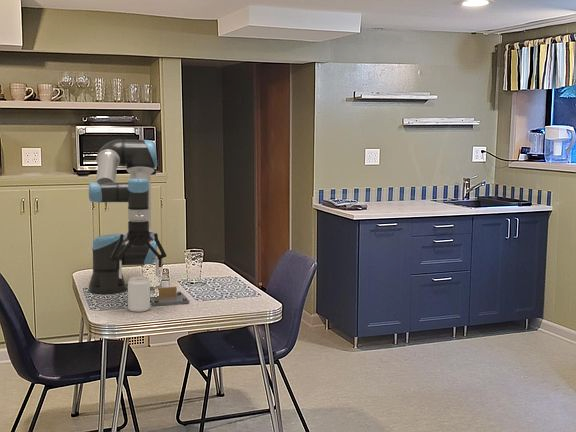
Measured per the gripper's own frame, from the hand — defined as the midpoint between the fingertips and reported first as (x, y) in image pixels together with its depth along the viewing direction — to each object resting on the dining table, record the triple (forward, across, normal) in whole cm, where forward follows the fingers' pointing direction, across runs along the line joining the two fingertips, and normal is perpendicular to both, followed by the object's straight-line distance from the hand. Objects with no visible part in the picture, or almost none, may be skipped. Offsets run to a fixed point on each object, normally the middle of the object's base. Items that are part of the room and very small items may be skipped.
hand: (138, 277), depth 262 cm
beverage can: (+13, 0, +1) cm, 13 cm away
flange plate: (+12, +13, +12) cm, 21 cm away
